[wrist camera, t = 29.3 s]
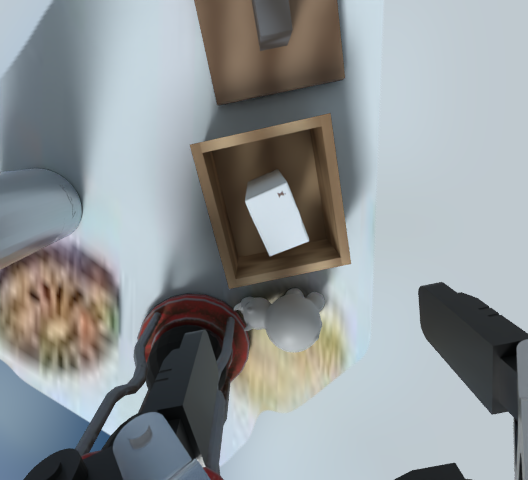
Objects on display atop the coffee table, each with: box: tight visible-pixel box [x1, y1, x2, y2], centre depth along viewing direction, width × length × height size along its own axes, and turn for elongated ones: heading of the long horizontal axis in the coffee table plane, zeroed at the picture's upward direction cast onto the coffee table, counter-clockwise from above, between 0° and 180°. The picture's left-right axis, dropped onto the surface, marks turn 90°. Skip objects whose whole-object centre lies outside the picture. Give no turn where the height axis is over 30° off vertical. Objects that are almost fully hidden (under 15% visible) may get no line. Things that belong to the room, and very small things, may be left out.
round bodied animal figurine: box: [234, 288, 325, 352], centre depth 42 cm, size 7×12×8 cm, turn 83°
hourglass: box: [75, 294, 250, 480], centre depth 35 cm, size 16×16×25 cm
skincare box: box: [245, 169, 309, 256], centre depth 34 cm, size 6×4×12 cm
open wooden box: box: [190, 113, 351, 289], centre depth 37 cm, size 14×16×8 cm
